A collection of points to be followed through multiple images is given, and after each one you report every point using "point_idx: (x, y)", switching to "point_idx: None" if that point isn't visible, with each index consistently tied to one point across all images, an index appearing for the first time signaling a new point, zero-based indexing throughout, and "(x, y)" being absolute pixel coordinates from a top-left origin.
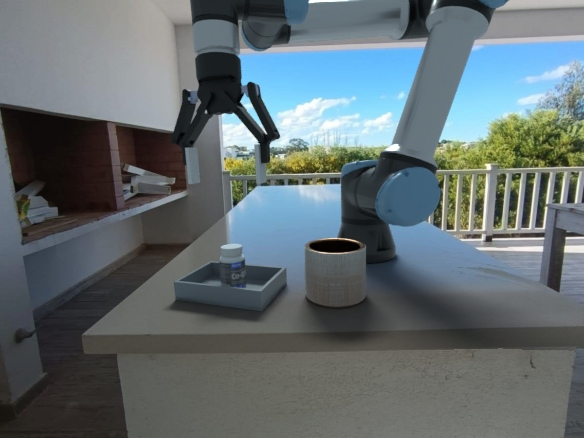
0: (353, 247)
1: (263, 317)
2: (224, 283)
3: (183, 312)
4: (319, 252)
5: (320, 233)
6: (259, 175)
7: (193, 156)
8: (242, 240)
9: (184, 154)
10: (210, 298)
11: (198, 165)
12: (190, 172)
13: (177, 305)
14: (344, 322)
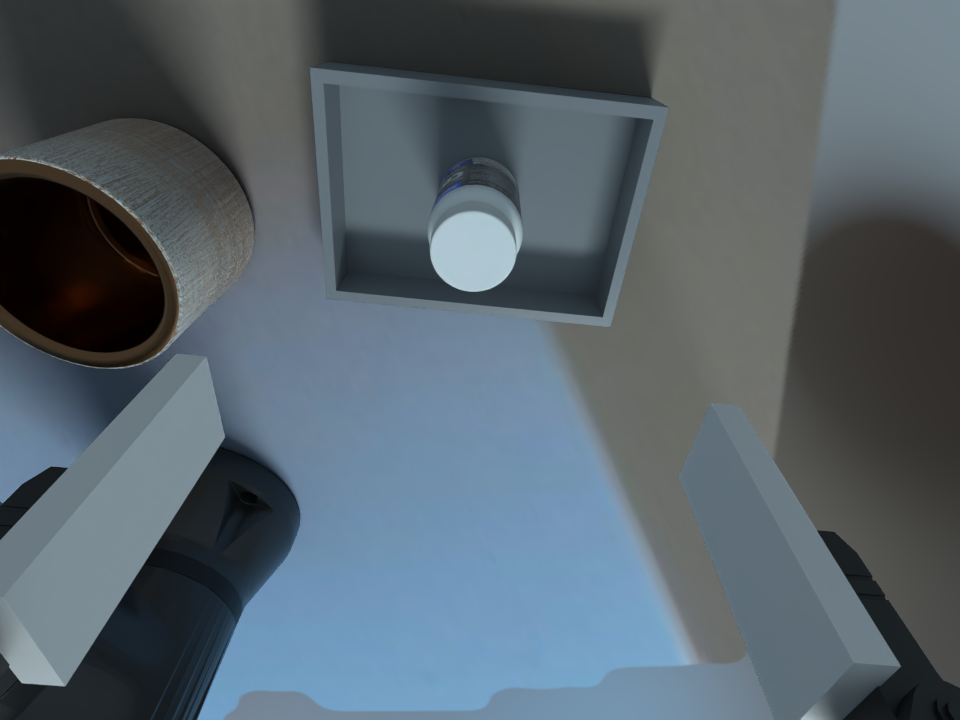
0: (47, 320)
1: (306, 17)
2: (493, 166)
3: (582, 2)
4: (59, 168)
5: (397, 639)
6: (150, 387)
7: (775, 611)
8: (613, 582)
9: (878, 620)
10: (514, 84)
11: (720, 574)
12: (745, 461)
13: (626, 55)
14: (64, 29)
